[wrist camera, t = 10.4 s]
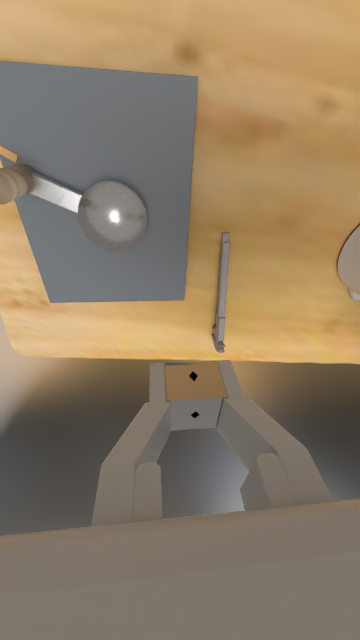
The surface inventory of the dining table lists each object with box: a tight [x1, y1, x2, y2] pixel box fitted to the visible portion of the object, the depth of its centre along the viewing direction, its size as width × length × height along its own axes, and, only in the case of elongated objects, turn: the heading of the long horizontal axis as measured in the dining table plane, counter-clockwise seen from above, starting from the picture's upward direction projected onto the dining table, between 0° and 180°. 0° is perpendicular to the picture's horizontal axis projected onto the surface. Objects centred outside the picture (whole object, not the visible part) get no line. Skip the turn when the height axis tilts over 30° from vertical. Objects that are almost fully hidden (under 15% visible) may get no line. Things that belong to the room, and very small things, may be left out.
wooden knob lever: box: [0, 164, 147, 253], centre depth 26 cm, size 15×8×7 cm, turn 65°
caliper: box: [212, 232, 230, 353], centre depth 39 cm, size 20×1×6 cm, turn 0°
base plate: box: [0, 61, 198, 303], centre depth 31 cm, size 21×26×2 cm
